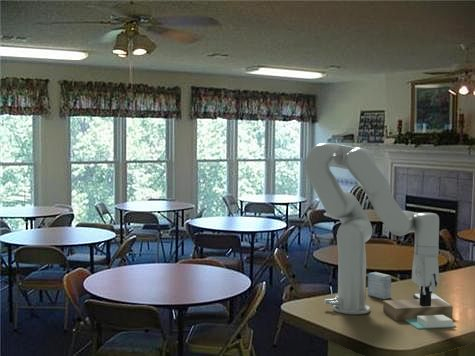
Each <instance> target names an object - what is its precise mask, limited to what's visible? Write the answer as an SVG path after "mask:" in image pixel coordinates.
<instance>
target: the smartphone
mask: <svg viewBox="0 0 475 356" xmlns="http://www.w3.org/2000/svg"><path fill="white" fill-rule="evenodd" d="M412 297H413V298H414V299H420V293H413V295H412ZM437 298H438V299H440V300H441V301H443V302H445V303H447V304H449V305H451V304H450V303H449V302H448V301H446V300H444V299H443V298H442V297H441V296H438V295H437V294H436V293H432V295H431V299H437Z"/></svg>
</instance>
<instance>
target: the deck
mask: <svg viewBox="0 0 475 356" xmlns="http://www.w3.org/2000/svg"><path fill="white" fill-rule="evenodd" d="M449 304H450V303H449ZM449 304H447V303H445V302H443V301H441V300H440V299H438V298H437V299H431V306H427V307H422V306H421V305H420V299H415V298H414V299H413V298H412V299H389V300H387V299H385V300H383V307H382V308H383V309H382V312H383V313H384V314H385V315H387V316H389V318H391V319H392V320H393V321H405V319H417V316H425V315H444V316H446V317H448V318H450V319H453V309H454V308H453V307H454V306H453V305H451V304H450V305H449Z"/></svg>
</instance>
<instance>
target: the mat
mask: <svg viewBox="0 0 475 356" xmlns="http://www.w3.org/2000/svg"><path fill="white" fill-rule="evenodd" d="M404 322H406V323H408V324H409V325H411V326H412V327H414V328H415V329H417V330H427V329H445V328H446V329H448V328H457V325H455V324H454V323H453V326H451V327H430V328H426V327H424V326H423V325H421V324H419V323H418V322H417V319H405V320H404Z"/></svg>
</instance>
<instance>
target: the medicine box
mask: <svg viewBox="0 0 475 356" xmlns="http://www.w3.org/2000/svg"><path fill="white" fill-rule="evenodd" d="M391 289H392V275H390V274H386V273H381V272H377V271H374V272H369V273H367V296H370V297H373V298H379V299H381V300H387V299H391V298H392V290H391Z"/></svg>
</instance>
